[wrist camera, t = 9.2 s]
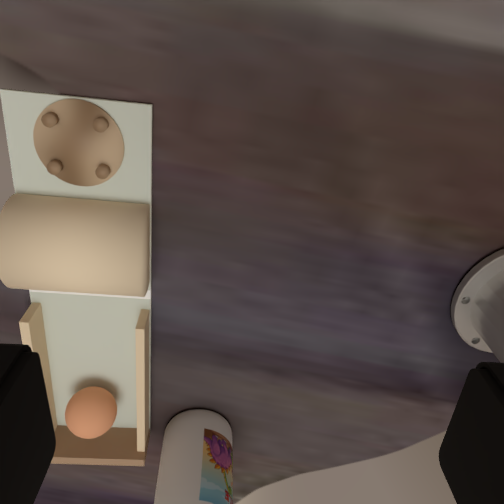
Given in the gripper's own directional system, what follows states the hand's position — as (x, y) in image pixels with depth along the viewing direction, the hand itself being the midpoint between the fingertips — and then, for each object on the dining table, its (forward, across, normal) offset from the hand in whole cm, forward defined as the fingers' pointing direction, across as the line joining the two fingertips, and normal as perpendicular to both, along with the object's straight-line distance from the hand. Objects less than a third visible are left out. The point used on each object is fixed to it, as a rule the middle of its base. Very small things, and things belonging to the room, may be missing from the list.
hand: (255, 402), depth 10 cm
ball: (+26, +14, +29) cm, 41 cm away
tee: (+28, +13, +2) cm, 31 cm away
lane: (+31, +14, +17) cm, 38 cm away
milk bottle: (+29, +3, +35) cm, 46 cm away
